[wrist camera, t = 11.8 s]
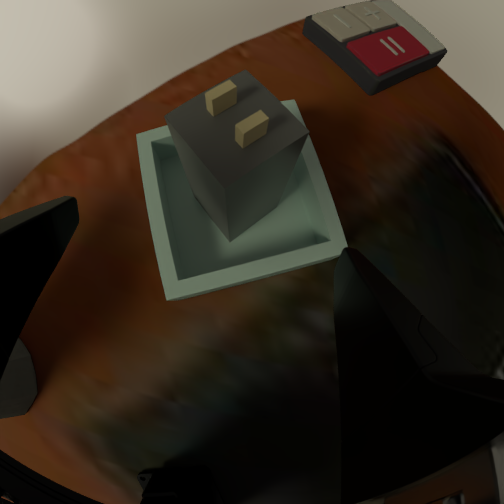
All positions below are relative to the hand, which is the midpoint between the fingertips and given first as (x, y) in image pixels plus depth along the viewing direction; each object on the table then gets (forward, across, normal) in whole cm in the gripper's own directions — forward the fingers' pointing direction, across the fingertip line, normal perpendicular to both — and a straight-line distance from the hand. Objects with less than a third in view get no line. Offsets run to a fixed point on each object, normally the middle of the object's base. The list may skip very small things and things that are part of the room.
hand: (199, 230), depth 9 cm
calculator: (+30, -12, -10) cm, 34 cm away
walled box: (+13, 0, +6) cm, 15 cm away
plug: (+13, 0, +5) cm, 14 cm away
